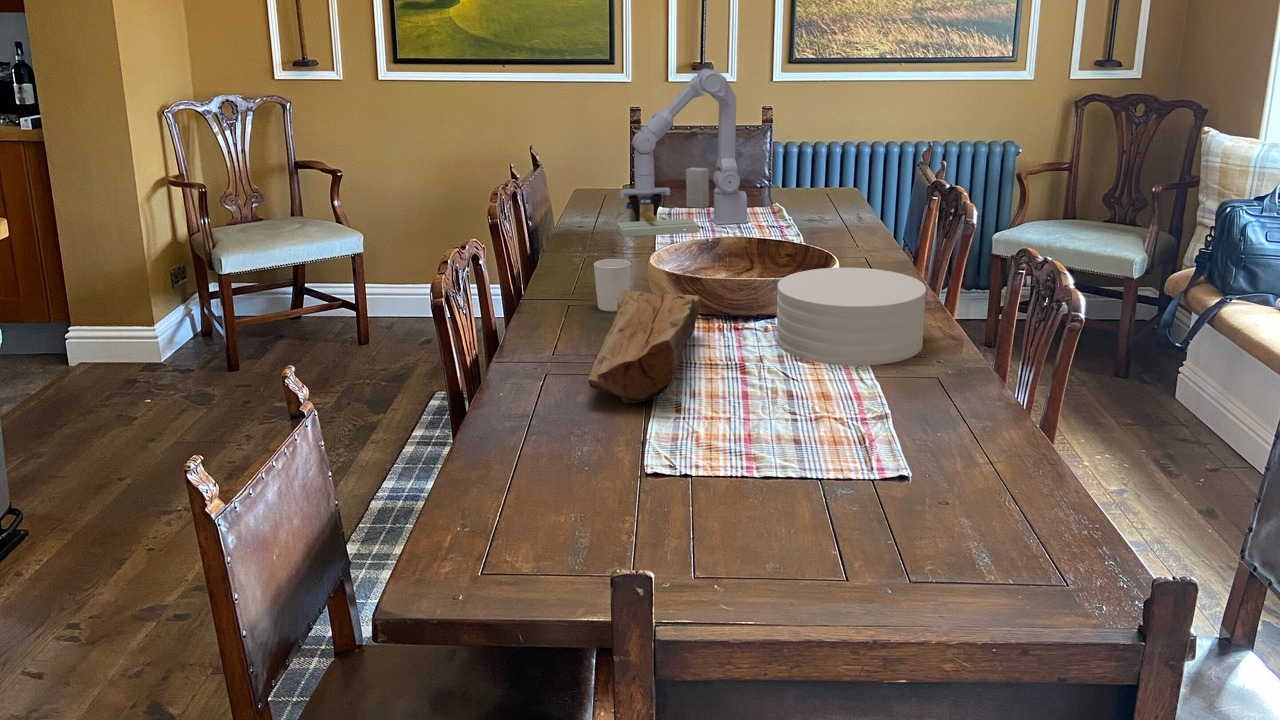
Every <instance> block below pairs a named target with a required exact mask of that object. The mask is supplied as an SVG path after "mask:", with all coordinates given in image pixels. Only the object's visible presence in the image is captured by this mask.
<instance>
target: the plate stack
mask: <svg viewBox="0 0 1280 720" xmlns="http://www.w3.org/2000/svg"><path fill="white" fill-rule="evenodd" d="M776 287H777V292H776V293H777V297H776V305H777V309H776V318H777V319H776V331H777V332H776V343H777V346H778V347H779V348H780V349H781V350H782V351H784V352H786V353H787V354H788V355H792V356H794V357H796V358H799V359H804V360H807V361H811V362H816V363H821V364H826V365H827V364H829V365H837V366H838V365H839V366H875V365H885V364H892V363H896V362H900V361H904V360H907V359H909V358H912V357H914V356H916V355H917V354H919V352H921V350H922V349H923V344H924V343H923V342H924V338H923V337H924V330H925V329H924V322H925V309H926V295H927V286H926V284H924V283H923V282H922V281H920V280H919V279H917V278H915V277H913V276H911V275H910V276H909V275H907V274H904V273H899V272H895V271H890V270H885V269H876V268H875V269H874V268H865V267H826V268H815V269H810V270H809V269H808V270H804V271H802V270H801V271H799V272H794V273H791V274H789V275H786V276H784V277H782V278H781V279H780V280H779V281H778V282H777V286H776Z"/></svg>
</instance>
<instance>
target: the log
mask: <svg viewBox="0 0 1280 720" xmlns="http://www.w3.org/2000/svg"><path fill="white" fill-rule="evenodd" d="M700 305H701V303H700V295H692V294H675V293H674V294H673V293H669V294H668V293H665V294H664V293H649V292H645V291H642V290H630V291H629V290H623V291H622V292H621V293H620V295H619V296H618V303H617V311H616V315H615V318H614V319H613V323H612V325H611V326H610V328H609V330H608V332H607V334H606V335H605V337H604V340H603V341H602V343H601V345H600V347H599V349H598V351H597V352H596V355H595V357H594V359H593V362H592V365H591V368H590V372H589V375H588V378H587V382H588V384H589V387H590V388H592V389H595V390H598V391H601V392H604V393H608V394H612V395H614V396H617V397H619V398H620V399H621V400H622V401H623V402H624V403H628V404H629V403H640V402H645V401H650V400H653V399H656V398H659V397H660V396H661V395H662V394H664V393H666V392H667V390H668V388H670V385H672V381H673V380H674V379H673V378H674V376H675V374H676V371H677V370H678V367H679V366H680V364H681V361H682V357H683V353H684V350H685V348H686V346H687V343H688V341H689V340H690V339H691V338H692V337H693V335H694V329H695V326H696V321H697V319H698V315H699V313H700Z"/></svg>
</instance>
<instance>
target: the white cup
mask: <svg viewBox="0 0 1280 720" xmlns="http://www.w3.org/2000/svg"><path fill="white" fill-rule="evenodd" d="M593 271H594V281H595V283H594V284H595V292H596V297H597V298H596V299H597V300H596V301H597V308H598V310H600V311H604V312H612V313H613V312H617V303H618V296H619V295H620V293H621V292H622V291H623V290H629V291H631V289H630V288H631V285H630V284H631V262H630V261H629V260H627V259H623V258H622V259H621V258H605V259H601V260H597V261H595V262H593Z"/></svg>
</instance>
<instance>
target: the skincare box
mask: <svg viewBox="0 0 1280 720" xmlns="http://www.w3.org/2000/svg"><path fill="white" fill-rule="evenodd" d="M685 180H686V181H685V185H686V186H685V187H686V191H685V193H686V197H685V198H686V207H687V208H696V209H697V208H698V209H705V208H707V207H709V206H710V205H709V204H710V198H709V197H710V196H709V195H710V194H709V190H710V189H709V187H710V186H709V168H704V167H690V168H686V169H685Z"/></svg>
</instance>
